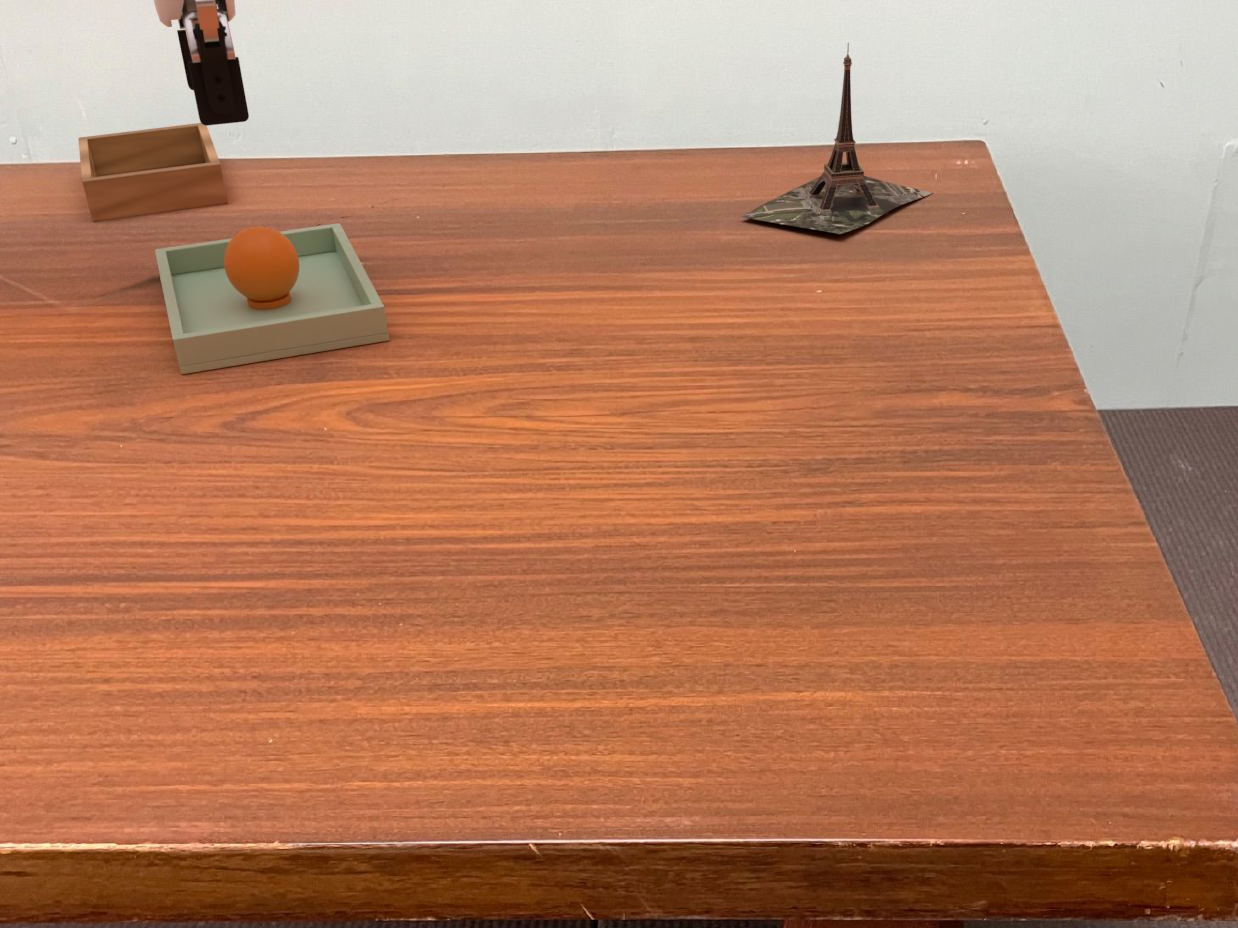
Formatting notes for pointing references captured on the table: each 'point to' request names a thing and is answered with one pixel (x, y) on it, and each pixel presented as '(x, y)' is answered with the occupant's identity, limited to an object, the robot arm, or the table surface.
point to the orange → (262, 266)
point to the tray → (237, 334)
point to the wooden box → (150, 172)
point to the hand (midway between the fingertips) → (218, 104)
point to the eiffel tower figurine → (837, 187)
